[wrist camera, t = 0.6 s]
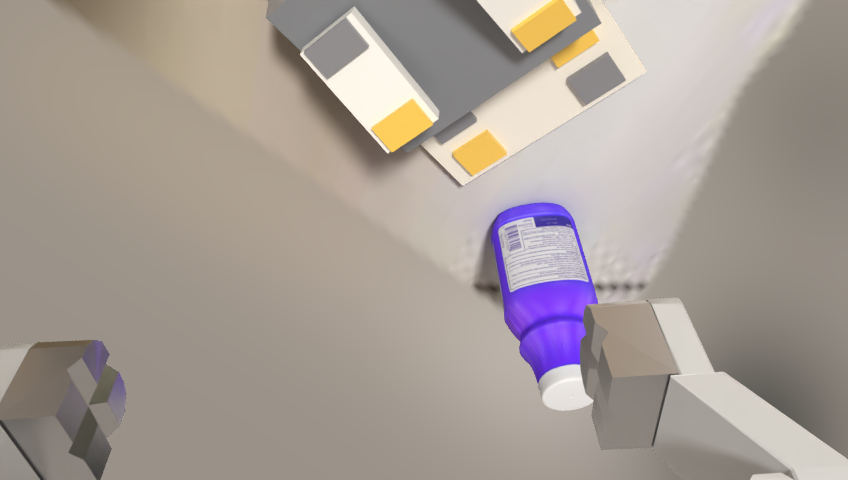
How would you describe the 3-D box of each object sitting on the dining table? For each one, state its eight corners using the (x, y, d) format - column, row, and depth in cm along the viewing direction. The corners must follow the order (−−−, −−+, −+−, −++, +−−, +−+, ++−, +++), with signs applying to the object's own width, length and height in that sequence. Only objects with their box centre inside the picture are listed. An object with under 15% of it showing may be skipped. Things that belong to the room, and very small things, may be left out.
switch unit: (255, -28, 44) (244, 17, 39) (464, -216, 37) (477, -186, 33) (461, 177, 56) (469, 227, 52) (642, 64, 50) (667, 111, 46)
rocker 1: (303, 46, 41) (298, 56, 40) (354, 6, 40) (350, 14, 39) (389, 144, 45) (387, 156, 44) (439, 110, 43) (438, 121, 42)
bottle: (489, 251, 63) (522, 424, 51) (484, 205, 59) (518, 381, 47) (571, 239, 62) (623, 410, 50) (571, 191, 58) (628, 365, 46)
